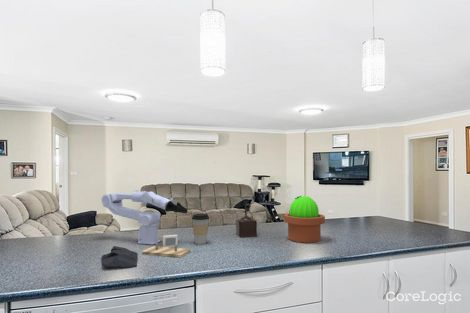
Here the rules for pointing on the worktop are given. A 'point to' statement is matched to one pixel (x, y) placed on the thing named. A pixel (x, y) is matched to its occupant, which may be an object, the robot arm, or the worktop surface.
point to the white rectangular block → (170, 240)
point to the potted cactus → (304, 220)
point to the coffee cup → (200, 228)
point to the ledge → (166, 251)
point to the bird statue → (246, 225)
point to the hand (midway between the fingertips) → (183, 211)
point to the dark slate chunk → (120, 258)
